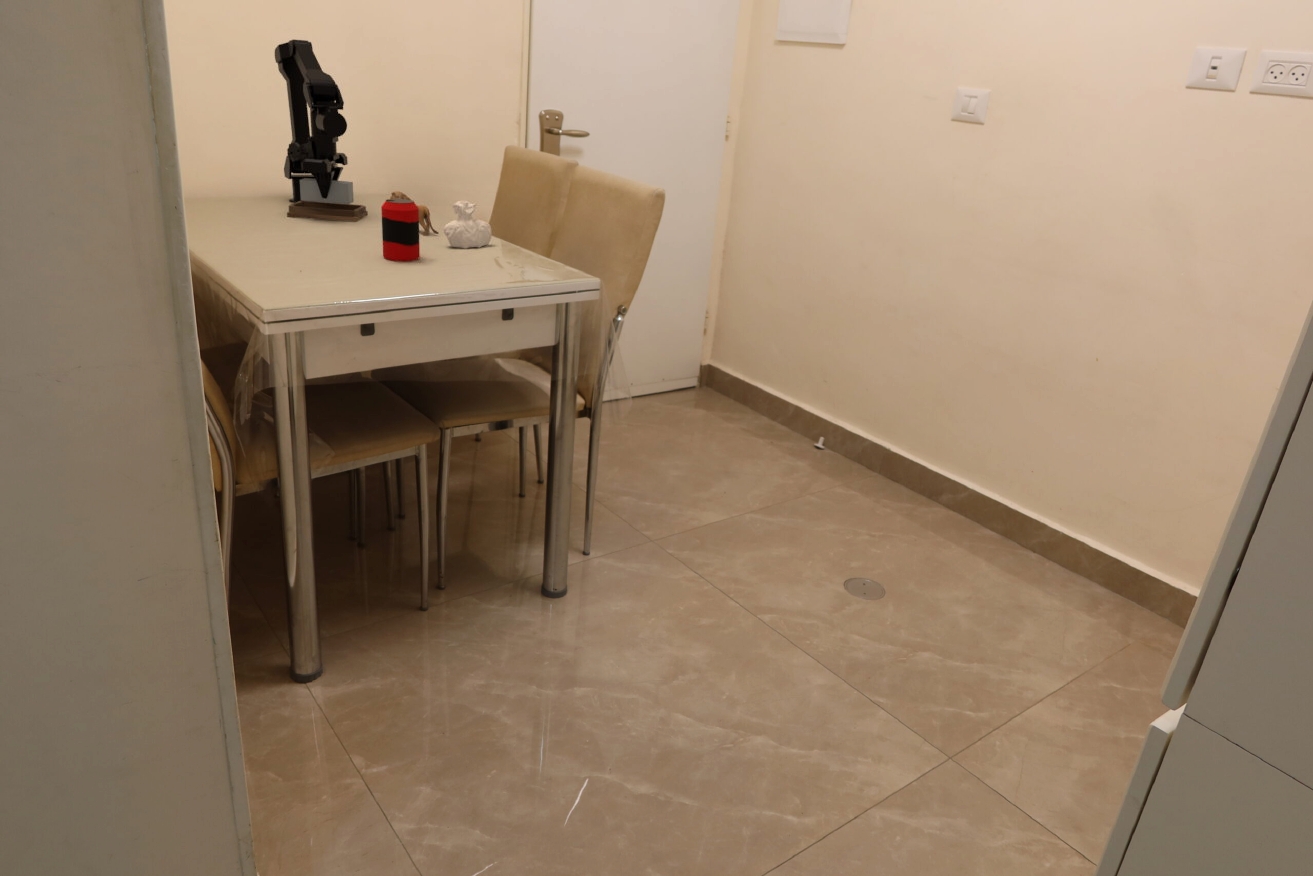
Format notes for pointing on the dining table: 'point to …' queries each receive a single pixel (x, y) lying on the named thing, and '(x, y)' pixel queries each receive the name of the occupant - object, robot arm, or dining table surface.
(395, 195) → the lion figurine
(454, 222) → the white tied bag
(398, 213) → the soda can
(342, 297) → the dining table surface
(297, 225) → the dining table surface
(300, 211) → the brown wooden tray
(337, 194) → the grey block
